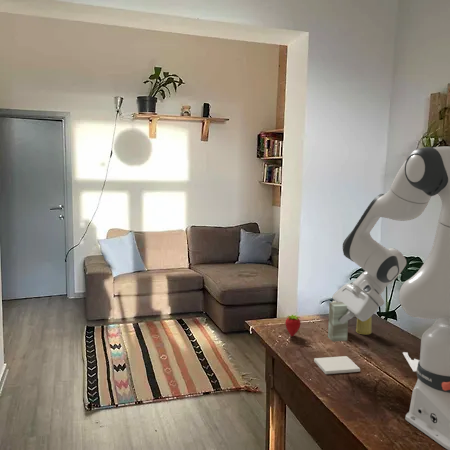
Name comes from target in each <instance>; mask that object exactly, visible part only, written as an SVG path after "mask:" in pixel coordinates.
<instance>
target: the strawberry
mask: <svg viewBox="0 0 450 450" xmlns="http://www.w3.org/2000/svg"><path fill="white" fill-rule="evenodd" d="M301 325H302V324H301V317H299V316H297V315H295V313H293V314H291V315H288V316H287V317H286V319H285V328H286V330H287V332H288V333H289V335H290V337H292V338H293V337H294V336H296V334H297V332H299V330H300V327H301Z"/></svg>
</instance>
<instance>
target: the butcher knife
mask: <svg viewBox="0 0 450 450" xmlns="http://www.w3.org/2000/svg"><path fill="white" fill-rule="evenodd" d="M402 354H403V356H404V358H405V359H406V360H405V361H407V363H408V365H409V367H410V368H411V369H412V372H414V373H417V367H418V362H419V361H420V359H416V358H413V359H412V358H411V357H410V356H409V352H405V351H403V352H402Z"/></svg>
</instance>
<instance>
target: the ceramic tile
mask: <svg viewBox="0 0 450 450" xmlns="http://www.w3.org/2000/svg"><path fill="white" fill-rule="evenodd" d="M313 359H314V360H313V362H314V363H315V364H316V365H317V366H318V368H319V369H320V370H321V371H322V372H323V373H324V374H325V375H333V374H334V375H335V374H347V373H357V372H361V368H360V367H359V366H358V365H357V364H356V363H355V362H354V361H353V360H352V359H351V358H350V357H348V356H346V355H343V356H341V355H340V356H328V357H315V358H313Z"/></svg>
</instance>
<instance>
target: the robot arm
mask: <svg viewBox="0 0 450 450" xmlns="http://www.w3.org/2000/svg"><path fill="white" fill-rule="evenodd" d="M436 195H438V197H440V199H441V208H440V212H439V218H438V223H437V226H436V227H437V228H436V231H435V236H434V239H433V243H432V244H433V245H432V247H431V250H430V252H429V254H428V256H427V257H426V259H425V261H424V262H423V264H422V265H421V266H420V268H419V269H418V271H416V273H414V275H412V276H411V277H410V278H408V279H407V280H405V281H404V282H403V283H402V285H401V287H400V289H399V293H398V298H399V304H400V306H401V308H402V310H403V311H404V313H406V314H407V315H408V316H409V317H412V318H417V319H424V320H435V322H434V323H433V324H432V325H431V326H430V327H429V328H427V329H426V330H425V331H424V332H423V334H422V335H421V339H420V349H419V351H420V354H419V360H420V361H419V362H418V367H417V372H416V376H417V380H416V383H415V385H414V387H413V389H412V394H411V398H410V399H411V400H410V405H409V411H408V412H407V413H406V414H405V418H404V419H405V420H406V421H407V422H408V423H410V424H411V425H412V426H413V427H415V428H417V429H418V430H419V431H420V432H422V433H424V434H425V435H426V436H428V437H429V438H430V439H431V440H432V441H433V440H434V441H435V442H436V443H437V444H439V445H440V446H442V447H443V448H445V449H446V450H450V146H446V145H444V146H433V147H431V146H425V147H420V148H417V149H415V150H413V151H412V152H411V153H410V154H409V155H408V156H407V158H406V160H405V161H404V162H403V164H402V165H401V167H400V168H399V170H398V171H397V173H396V175H395V177H394V178H393V181H392V183H391V185H390V187H389V189H388V190H387V192H386V193H380V194H378V195H377V196H376V197H374V198H373V200H372V201H371V202H370V203H369V205H368V206H367V207H366V209H365V210H364V212H363V213H362V215H361V216H360V219H359V220H358V221H357V222H356V224H355V226H354V227H353V229H352V231H351V232H349V234H348V235H347V236H346V238H345V239H344V240H343V242H342V253H343V256H344V257H345V258H347V259H348V260H349V261H351V262H353V263H355V264H356V265H357V266H359V267H360V268H361V269H363V272H362V273H361V274H360V275H359V276H358V277H357V278H356V279H355V280H354V281H353V282H352V281H351V282H350V283H349V282H348V283H345V284H344V285H342V287H340V288H339V289H338V290H337V291H336V292H335V293H334V294H333V295H332V299H333V301H336V302H343V303H344V304H346V305H347V307H346V308H347V309H348V311H347V312H346V313H347V314H345V315H344V316H340V318H338V320H339V322H341V323H342V324H344V323H345V322H346V321H347V320H348V321H349V320H351V319H353V318H354V317H356V319H357V318H358V319H359V320H361V321H362V322H363V321H366V320H368V319H369V318H370V317H371V316H373V315H374V314H375V313H376V312H377V311H378V309H379V307H382V306H383V305H385V300H384V298H383V297H382V295H381V294H382V293H383V292H384V291H385V289H386V288H387V287H388V286H389V285H390V284H392V283H393V282H394V281H395V280H397V278H398V277H399V275H401V273H402V272H403V270H404V269H405V267H406V266H407V258H406V257H405V255H404V254H402V252H401V251H400V250H398V249H396V248H393V247H389V248H386V247H385V246H383V245H382V244H380V243H379V242H377V240H375V239H374V238H373V237H372V235H371V232H372V230H373V228H374V226H375V225H376V224H377V222H378V221H379V220H380V218H385V219H389V220H392V221H399V222H407V221H412V220H414V219H416V218H419V217H420V216H422V214H423V213H424V211H425V210H426V208H427V206H428V204H429V203H430V201H431V198H432V197H434V196H436Z"/></svg>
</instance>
